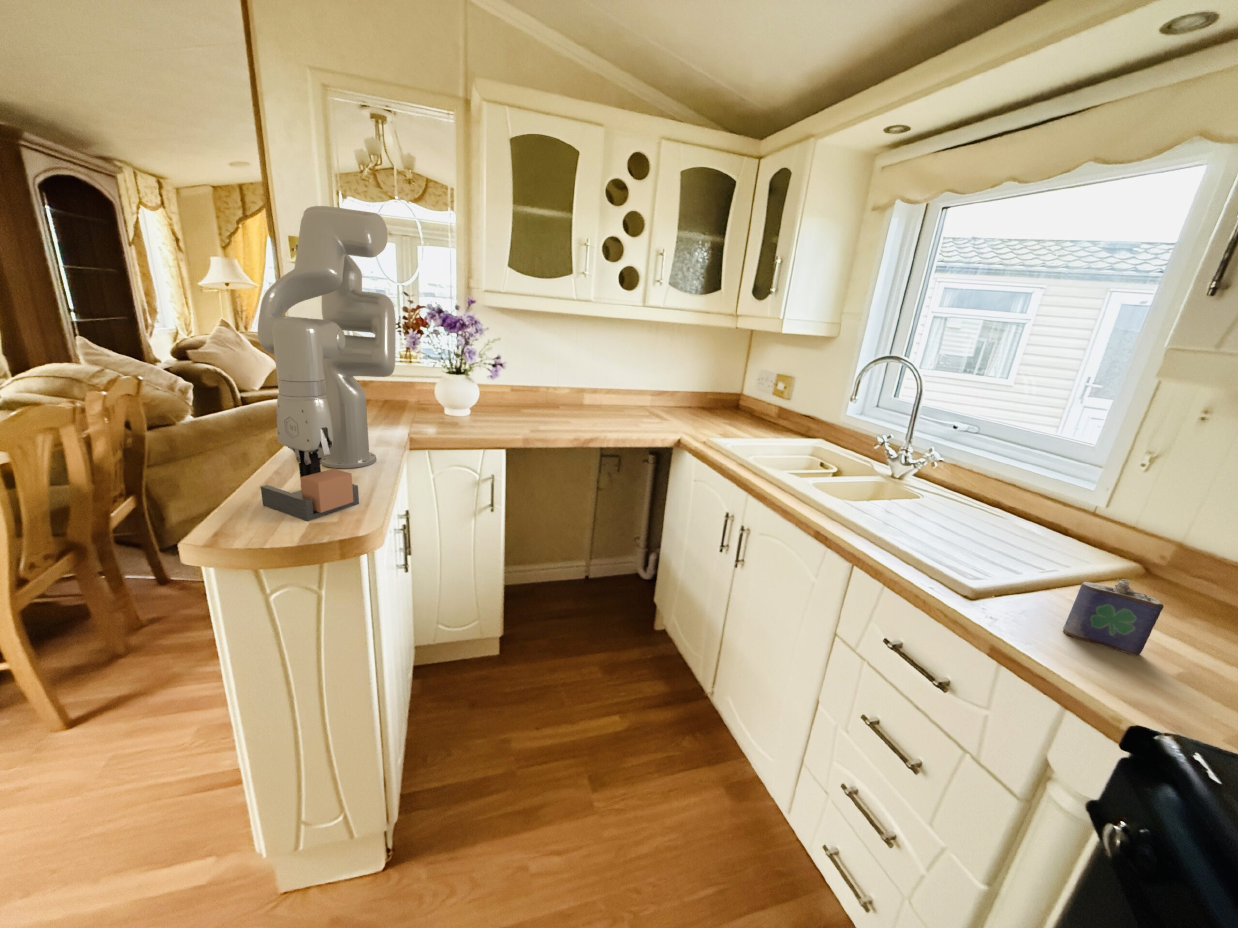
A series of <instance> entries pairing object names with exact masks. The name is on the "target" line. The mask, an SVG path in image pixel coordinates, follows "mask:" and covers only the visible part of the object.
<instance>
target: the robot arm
mask: <svg viewBox="0 0 1238 928" xmlns="http://www.w3.org/2000/svg"><path fill="white" fill-rule="evenodd" d="M299 225H300V226H299V232H298V233H299V234H298V238H297V239H298V241H297V247H296V255H295V260H294V261H295V262H294V267H293V269H292V270H290V271H289V272H287V273H285V274H283V275H282V276H281V277H280V278H279V279H277V280H276V281H275V282H274V283H273V284H272V285H271V286H270V287H269V288H268V289H267V290H266V292H265V293H264V294H263V296H262V299H261V304H260V309H259V315H258V320H257V322H258V323H257V338H258V342H259V344H260V346H261V348H262V349H263V350H264V351H265V352H267V353H269V354H270V355H274V359H275V360H274V361H275V368H276V378H277V380H276V381H277V387H278V394H277V400H276V432H277V440H278V442H279V444H280V445H282V446H285V447H287V448H288V449H290V450H291V451H293V452H294V455H295V459H296V462H298V467H299V478H300V477H303V476H307V475H311V474H315V473H319V472H322V469H321V466H324V467H327V468H331V469H354V468H361V467H366V466H369V465H372V464H373V463H375V462H376V461H377V456H376V454H374V453H373V452H371V451H370V444H369V443H370V442H369V429H368V428H369V427H368V424H369V423H368V412H367V411H368V410H367V409H368V408H367V407H368V406H367V395H366V392H365V390H364V388H363V386H362V385H361V384H360V383H359V381H357V379H356V378H355V377H374V378H376V377H377V378H385V377H389V376H391V375H393V373H394V371H395V369H396V311H395V306H394V303H393V301H392V299H391V298H390V297H389V296H387V295H386V294H383V293H380V292H379V293H378V292H372V291H363V273H362V271H361V268H360V267H359V265H358V264H357V263H356V262H355V260H354V259H353V257H361V258H369V259H370V258H375V257H378V255H380V254H381V253H382V252H383V251H384V250H385V249H386V247H387V244H388V239H389V237H388V235H389V234H388V227H387V224H386V221H385V220H384V218H383V217H382V216H381V214H378V213H376V212H371V211H364V210H356V209H348V208H342V207H337V206H336V207H335V206H327V205H326V206H325V205H315V206H310V207H307V208H306V209H305V210H304V212H303V215H302V217H301V220H300V224H299ZM351 256H352V257H351ZM318 297H321V315H322V319H321V318H320V319H319V318H308V317H299V316H285V315H286V313H287V312H288V311H289V310H290V309H291V308H292V307H294V306H295V305H297V304H299V303H303V302H305V301H307V300H311V299H315V298H318ZM345 331H346V332H347V331H348V332H361V333H371V334H373V335H374V336H363V335H362V336H359V335H354V334H353V335H351V334H345Z"/></svg>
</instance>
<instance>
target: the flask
mask: <svg viewBox="0 0 1238 928" xmlns="http://www.w3.org/2000/svg"><path fill="white" fill-rule="evenodd" d="M1116 581H1118V583H1117V584H1114V587H1113V586H1112V587H1111V586H1107V585H1103V584H1099V583H1095V582H1090V581H1083V582H1081V585H1080V588H1079V589H1078V593H1077V595H1076V597H1075V599H1074V602H1073V604H1072V607H1071V610H1070V611H1069V614H1068V617H1067V619H1066V621H1065V624H1064V625H1063V627H1062V630H1063V632H1064V635H1067V636H1070V637H1072V638H1074V639H1076V640H1080V641H1085V642H1088V643H1091V644H1093V645H1095V646H1096V645H1097V646H1100V647H1107V648H1110V649H1112V650H1116V651H1119V652H1120V653H1125V654H1128V655H1130V656H1134V657H1137V656H1138V657H1140V654H1142V652H1143V650H1144V647H1145V645H1146V644H1147V641H1148V639H1149V637H1151V634H1152V631H1153V629H1154V627H1155V625H1156V623H1157V621H1158V619H1159V617H1160V615H1161V612H1162V610H1163V609H1164V604H1163V603H1162V601H1160V600H1159V599H1157V598H1155V597H1151V596H1150V595H1148V594H1147V593H1143V592H1138V591H1134V590H1133V589H1132V588H1131V587H1130V584H1131V582H1130V580H1129V579H1124V578H1121V579H1119V578H1116Z"/></svg>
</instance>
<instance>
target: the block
mask: <svg viewBox="0 0 1238 928" xmlns="http://www.w3.org/2000/svg"><path fill="white" fill-rule="evenodd" d="M299 478H300V479H299V480H300V490H301V491H302V496H303V497H306V498H309V499H312V505H313V510H314V511H317V512H320V513H322V512H325V511H328V510H331V509H334V508H337V507H340V506H343V505H346V504H349V503H352V502H354V501H353V487H352V484H353V475H352V473H350V472H347V471H344V470H341V469H340V470H339V469H338V468H331V469H327V470H324V471H321V472H319V473H315V474H311V475H307V476H303V477H300V476H299Z"/></svg>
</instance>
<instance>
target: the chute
mask: <svg viewBox="0 0 1238 928" xmlns="http://www.w3.org/2000/svg"><path fill="white" fill-rule="evenodd" d="M352 487H353V501H354V502H352V503H349V504H346V505H343V506H340V507H337V508H334V509H331V510H328V511H325V512H322V513H320V512H317V511H314V510H313V505H312V499H309V498H306V497H303V496H302V491H301V489H300V490H297V491H292V492H290V491H287V490H284V489H281V488H278V487H274V486H271V485H269V484H265V485H262V486H260V491H261V500H262V506H263V507H266V508H269V509H272V510H274V511H277V512H280V513H283V514H285V515H288V516H292V517H294V518H297V519H299V520H303V521H307V522H311V521H313V520H316V519H318V518H322V517H325V516H327V515H330V514H333V513H336V512H339V511H342V510H345V509H347V508H351V507H353V506H357V505H359V504H360V497H359V485H358V484H354V483H352Z"/></svg>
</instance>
